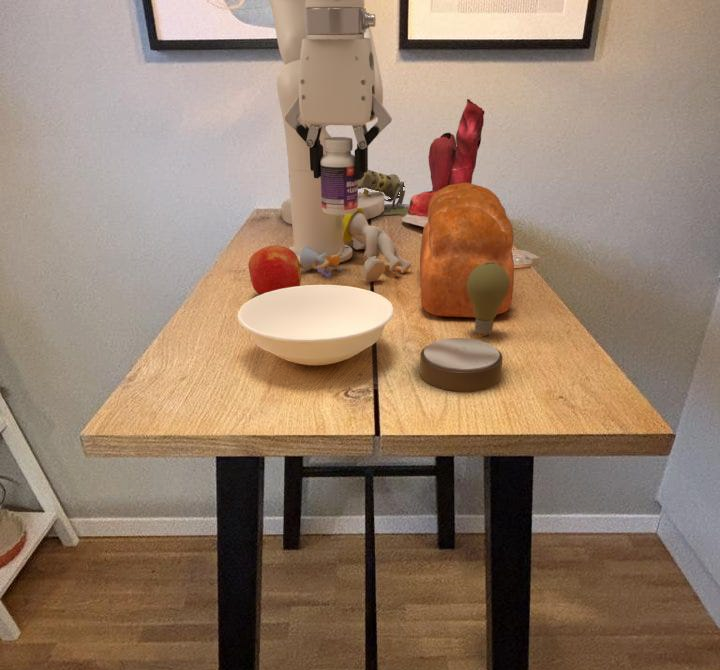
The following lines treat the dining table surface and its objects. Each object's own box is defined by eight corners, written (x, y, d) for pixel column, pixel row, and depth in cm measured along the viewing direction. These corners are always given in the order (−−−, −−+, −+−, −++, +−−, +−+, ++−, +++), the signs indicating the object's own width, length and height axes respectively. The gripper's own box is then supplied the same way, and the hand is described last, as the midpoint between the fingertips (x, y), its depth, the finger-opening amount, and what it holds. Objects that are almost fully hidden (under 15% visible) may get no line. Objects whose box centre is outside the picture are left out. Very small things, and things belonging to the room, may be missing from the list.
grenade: (354, 160, 148) (397, 173, 158) (344, 190, 151) (387, 201, 162) (374, 171, 144) (417, 184, 155) (363, 202, 147) (406, 212, 158)
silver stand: (425, 354, 87) (426, 334, 85) (502, 360, 85) (504, 339, 83) (414, 387, 79) (415, 366, 77) (498, 395, 77) (501, 373, 75)
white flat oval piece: (257, 219, 150) (256, 206, 148) (334, 196, 168) (333, 184, 166) (334, 231, 138) (333, 217, 136) (407, 205, 156) (407, 192, 155)
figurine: (371, 303, 117) (324, 248, 122) (412, 274, 117) (364, 220, 122) (363, 271, 107) (313, 212, 112) (408, 239, 108) (357, 182, 112)
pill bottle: (353, 216, 95) (352, 142, 90) (318, 215, 96) (314, 141, 90) (361, 207, 99) (360, 136, 94) (326, 206, 100) (324, 135, 95)
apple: (298, 306, 102) (295, 254, 98) (245, 306, 103) (239, 254, 98) (305, 289, 109) (302, 240, 104) (255, 289, 109) (250, 240, 105)
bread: (418, 319, 96) (423, 208, 88) (419, 265, 118) (422, 172, 109) (514, 321, 95) (528, 209, 87) (497, 266, 117) (506, 172, 108)
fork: (325, 218, 138) (326, 232, 139) (366, 241, 122) (366, 256, 123) (338, 217, 138) (338, 231, 140) (380, 240, 123) (380, 255, 124)
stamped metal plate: (538, 265, 118) (540, 257, 117) (504, 270, 116) (505, 261, 115) (516, 253, 124) (517, 245, 123) (483, 257, 122) (484, 249, 122)
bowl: (228, 340, 91) (222, 295, 88) (360, 319, 97) (359, 276, 94) (265, 402, 76) (259, 350, 73) (418, 372, 82) (420, 323, 78)
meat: (454, 242, 128) (418, 107, 122) (399, 264, 150) (366, 150, 143) (543, 214, 136) (514, 85, 129) (478, 239, 157) (450, 129, 151)
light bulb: (479, 324, 95) (485, 254, 89) (511, 334, 92) (520, 262, 86) (454, 335, 92) (460, 263, 86) (487, 346, 89) (495, 272, 83)
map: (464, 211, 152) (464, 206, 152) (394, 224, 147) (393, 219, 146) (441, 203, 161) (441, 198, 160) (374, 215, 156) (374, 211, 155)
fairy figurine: (294, 239, 122) (352, 237, 117) (298, 265, 124) (355, 264, 119) (261, 256, 113) (322, 254, 108) (267, 283, 116) (327, 283, 111)
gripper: (405, 24, 86) (401, 174, 96) (281, 25, 89) (290, 170, 100) (395, 25, 80) (392, 185, 91) (262, 26, 83) (274, 180, 94)
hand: (339, 175), depth 95 cm, fingers closed on pill bottle, 5 cm apart
